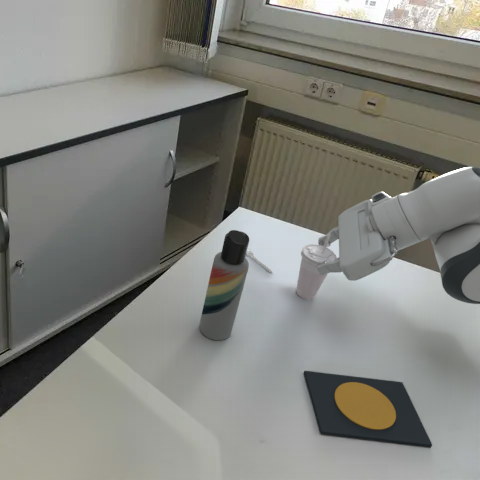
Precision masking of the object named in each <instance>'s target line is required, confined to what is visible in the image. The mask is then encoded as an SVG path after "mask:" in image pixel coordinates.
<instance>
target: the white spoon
mask: <svg viewBox="0 0 480 480" xmlns="http://www.w3.org/2000/svg"><path fill="white" fill-rule="evenodd" d="M246 255H248V256H249V257H250V258H251V259H252V260H254V261H255V262H256V263H258V264H259V265H260V266H261V267H263V268H264V269H265V270H266V271H267V272H269V273H270V274H274V271H273V270H272V268H270V267H269V266H267V264H265V263H264V262H263V261H262V260H260V259H259V258H258V257H256V256H255V254H254V251H252V250H251V249H250V248H248V249H247V252H246Z"/></svg>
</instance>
